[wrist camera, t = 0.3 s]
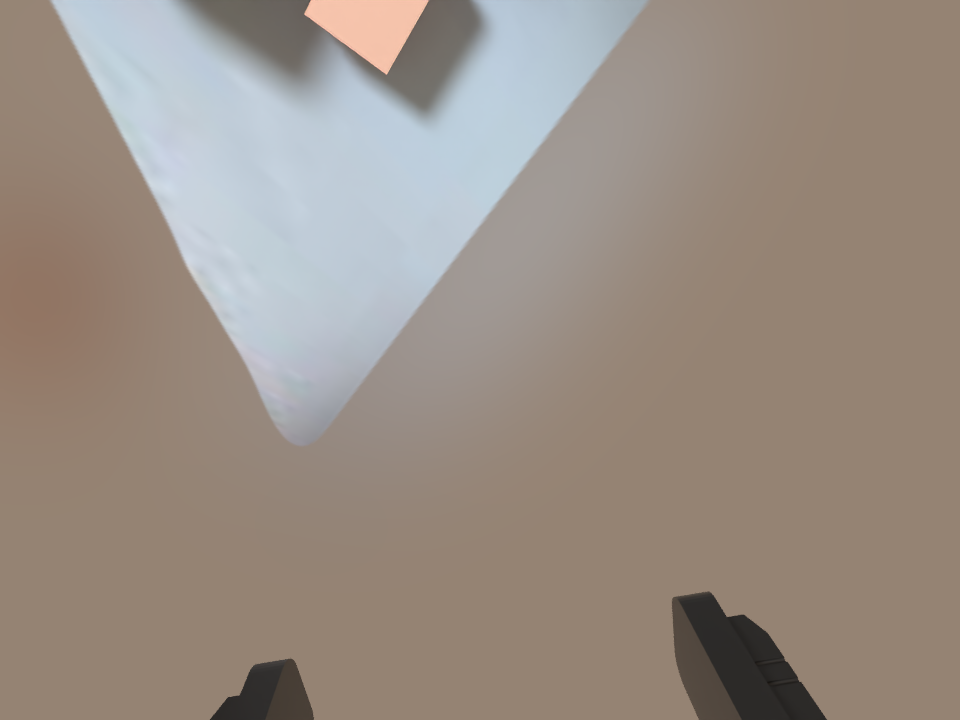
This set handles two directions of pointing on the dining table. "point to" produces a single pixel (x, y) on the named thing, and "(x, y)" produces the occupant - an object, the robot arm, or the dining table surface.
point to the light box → (369, 25)
